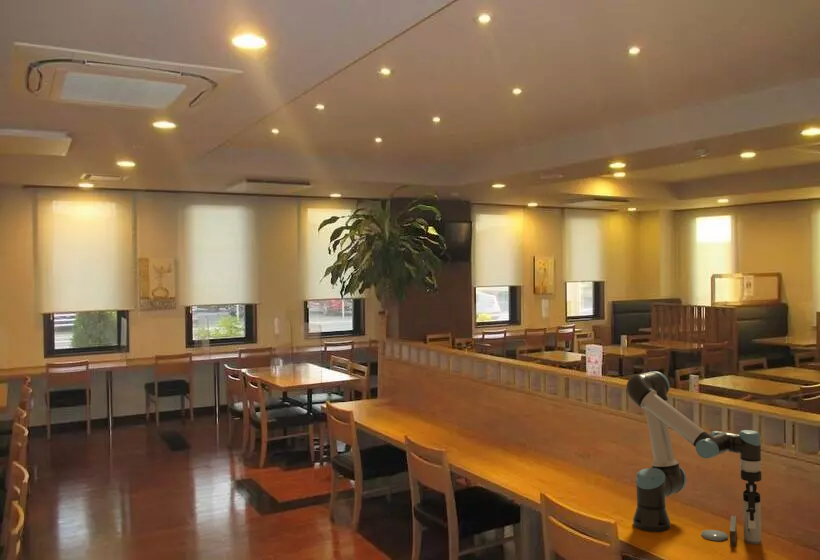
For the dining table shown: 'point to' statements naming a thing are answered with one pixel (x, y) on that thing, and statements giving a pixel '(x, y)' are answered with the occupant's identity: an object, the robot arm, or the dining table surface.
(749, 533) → the travel mug
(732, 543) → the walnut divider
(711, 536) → the slate saucer
